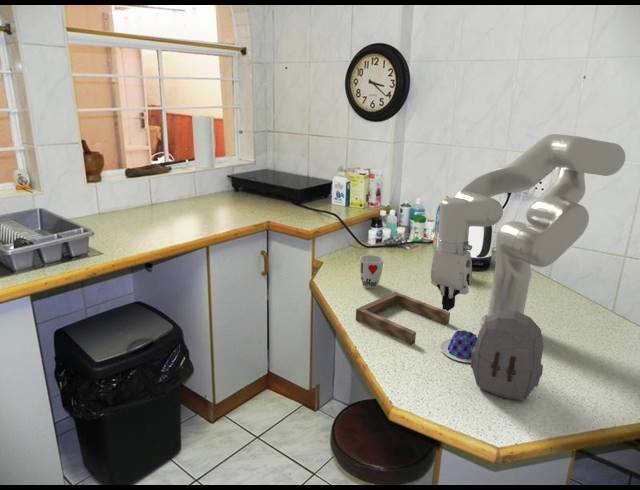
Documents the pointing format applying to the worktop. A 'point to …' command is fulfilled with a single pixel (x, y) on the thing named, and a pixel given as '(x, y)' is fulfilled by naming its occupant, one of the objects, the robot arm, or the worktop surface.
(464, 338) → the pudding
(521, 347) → the small grey backpack
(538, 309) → the worktop surface
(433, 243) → the blue food package
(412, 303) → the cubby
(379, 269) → the cup
